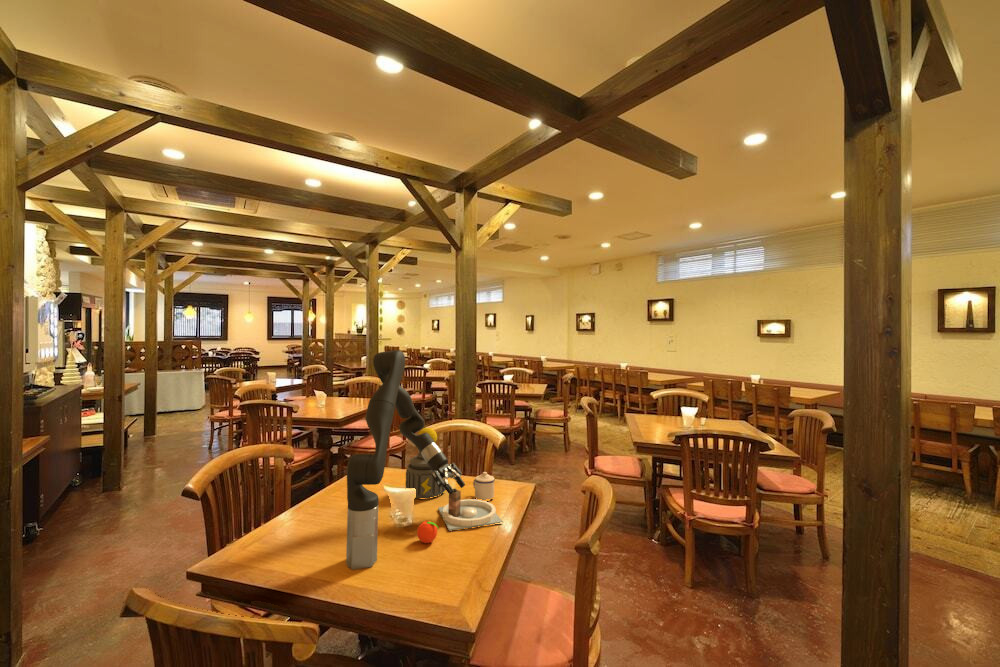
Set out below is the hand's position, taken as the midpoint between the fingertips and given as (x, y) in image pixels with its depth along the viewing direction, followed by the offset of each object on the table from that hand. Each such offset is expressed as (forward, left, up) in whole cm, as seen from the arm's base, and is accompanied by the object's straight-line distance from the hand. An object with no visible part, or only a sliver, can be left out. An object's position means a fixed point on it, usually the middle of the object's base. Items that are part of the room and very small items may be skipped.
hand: (457, 489), depth 158 cm
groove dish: (+1, -5, -12) cm, 13 cm away
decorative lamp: (+33, +7, -12) cm, 36 cm away
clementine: (-15, +14, -12) cm, 24 cm away
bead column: (+1, +1, -11) cm, 11 cm away
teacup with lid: (+19, -16, -12) cm, 28 cm away
